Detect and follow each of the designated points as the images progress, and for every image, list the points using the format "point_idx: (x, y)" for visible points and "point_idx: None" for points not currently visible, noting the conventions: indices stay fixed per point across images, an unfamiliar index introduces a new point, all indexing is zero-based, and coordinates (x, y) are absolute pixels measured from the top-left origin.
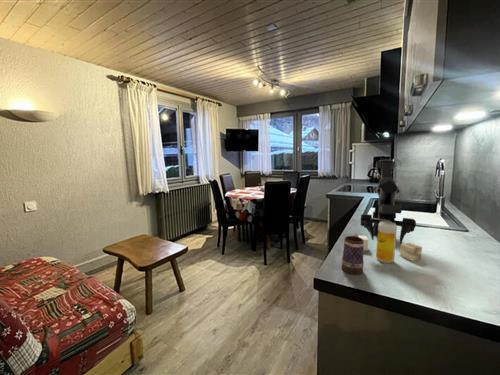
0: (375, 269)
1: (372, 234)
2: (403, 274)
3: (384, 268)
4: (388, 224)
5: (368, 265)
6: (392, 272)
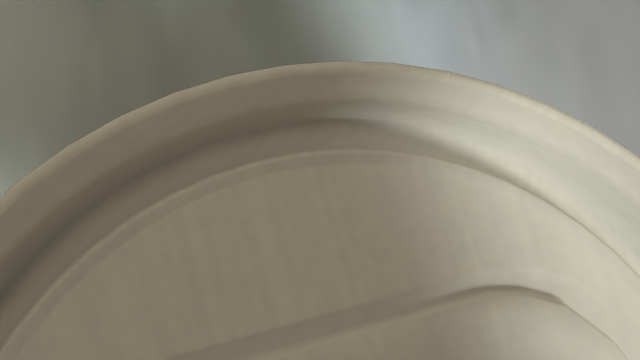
0: (317, 5)
1: None
2: (52, 49)
3: None
4: (286, 277)
5: (396, 62)
6: (158, 33)
